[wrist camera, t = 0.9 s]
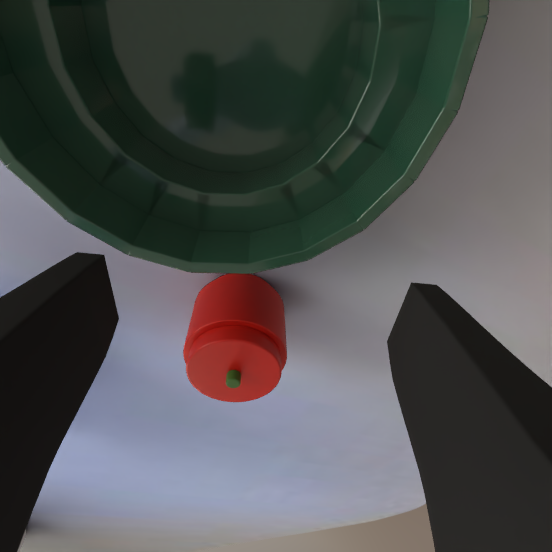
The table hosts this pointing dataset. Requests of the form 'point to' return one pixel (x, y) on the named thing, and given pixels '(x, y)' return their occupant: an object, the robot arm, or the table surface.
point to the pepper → (236, 339)
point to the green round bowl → (229, 118)
